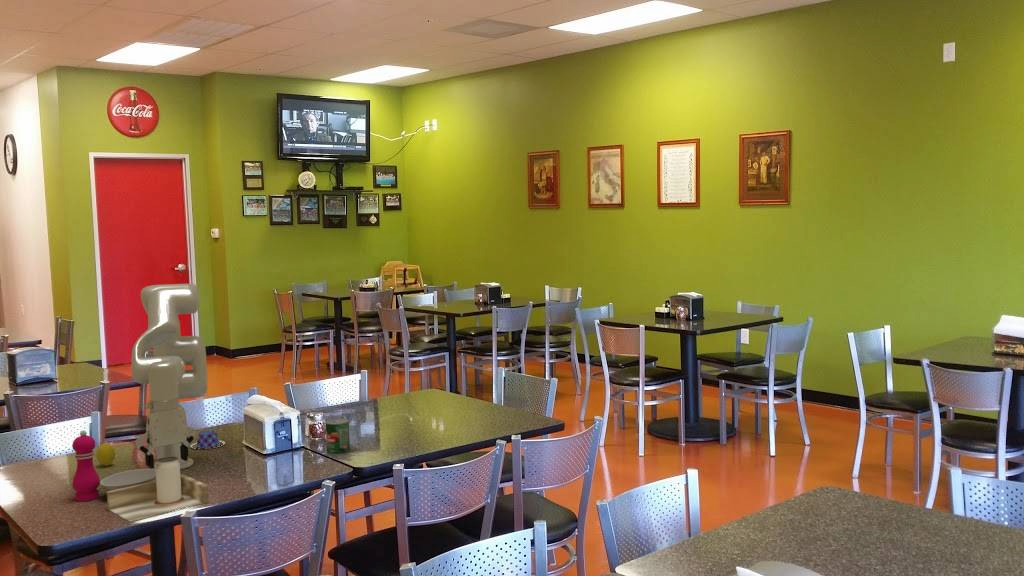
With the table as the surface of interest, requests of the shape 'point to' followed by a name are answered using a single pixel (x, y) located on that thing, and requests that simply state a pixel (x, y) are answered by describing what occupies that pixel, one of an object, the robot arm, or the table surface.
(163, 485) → the can
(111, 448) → the lemon
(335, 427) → the canned tomato
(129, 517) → the gold shallow open box
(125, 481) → the dish
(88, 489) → the pepper mill
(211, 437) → the blue patterned low dome
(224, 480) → the table surface
